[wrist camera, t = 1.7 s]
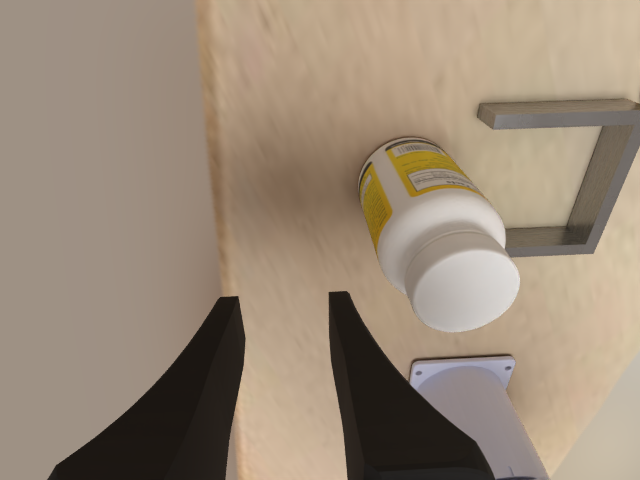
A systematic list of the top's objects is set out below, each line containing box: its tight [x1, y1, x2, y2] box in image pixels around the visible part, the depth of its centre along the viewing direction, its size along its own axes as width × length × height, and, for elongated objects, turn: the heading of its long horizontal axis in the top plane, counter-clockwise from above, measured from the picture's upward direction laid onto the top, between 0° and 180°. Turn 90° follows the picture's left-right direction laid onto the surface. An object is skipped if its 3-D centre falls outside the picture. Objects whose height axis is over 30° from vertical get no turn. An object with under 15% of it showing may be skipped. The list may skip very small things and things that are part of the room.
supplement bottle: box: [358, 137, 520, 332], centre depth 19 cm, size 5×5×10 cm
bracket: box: [477, 99, 640, 257], centre depth 22 cm, size 8×8×2 cm
